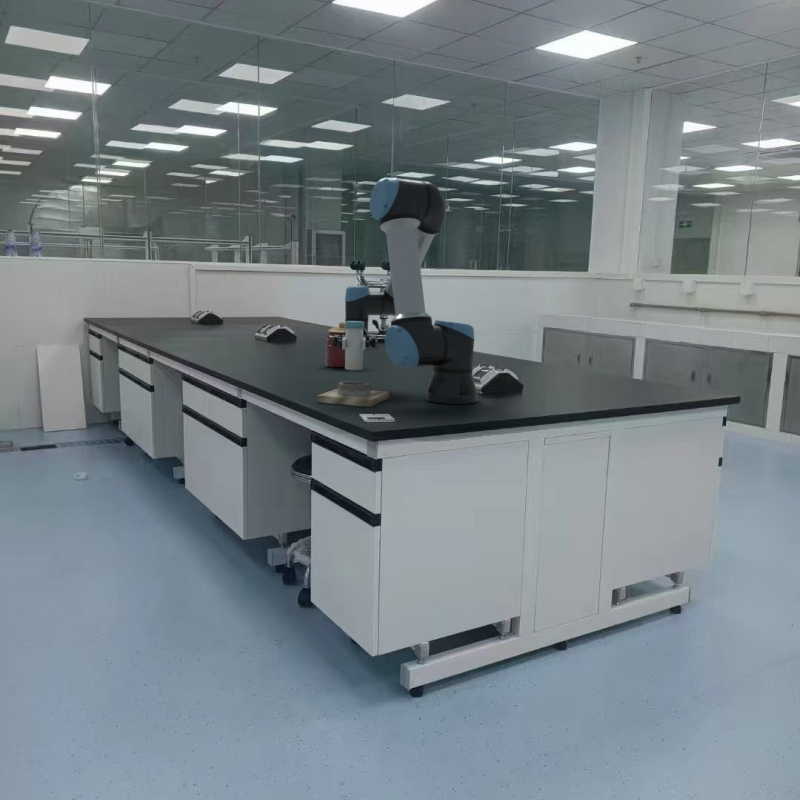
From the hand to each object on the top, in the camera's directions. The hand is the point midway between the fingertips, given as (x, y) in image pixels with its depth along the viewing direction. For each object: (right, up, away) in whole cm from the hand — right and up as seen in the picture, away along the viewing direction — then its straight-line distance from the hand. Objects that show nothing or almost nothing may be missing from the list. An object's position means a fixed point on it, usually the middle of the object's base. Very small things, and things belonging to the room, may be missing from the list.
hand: (353, 344), depth 198 cm
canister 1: (-11, -2, +86) cm, 87 cm away
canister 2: (0, -6, +6) cm, 9 cm away
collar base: (0, -15, +8) cm, 17 cm away
